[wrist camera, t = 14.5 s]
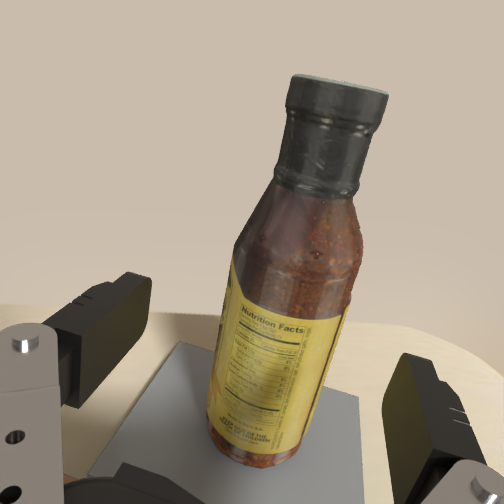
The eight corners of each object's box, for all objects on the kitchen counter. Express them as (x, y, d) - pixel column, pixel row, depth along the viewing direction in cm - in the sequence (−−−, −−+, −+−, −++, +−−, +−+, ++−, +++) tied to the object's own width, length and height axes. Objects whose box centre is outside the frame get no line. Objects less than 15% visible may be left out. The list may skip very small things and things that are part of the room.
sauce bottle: (249, 379, 28) (324, 83, 21) (321, 437, 25) (443, 105, 17) (175, 424, 23) (238, 57, 16) (252, 504, 20) (381, 81, 12)
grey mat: (86, 487, 20) (87, 473, 19) (178, 351, 31) (179, 341, 30) (361, 589, 18) (368, 576, 18) (354, 407, 29) (358, 396, 29)
